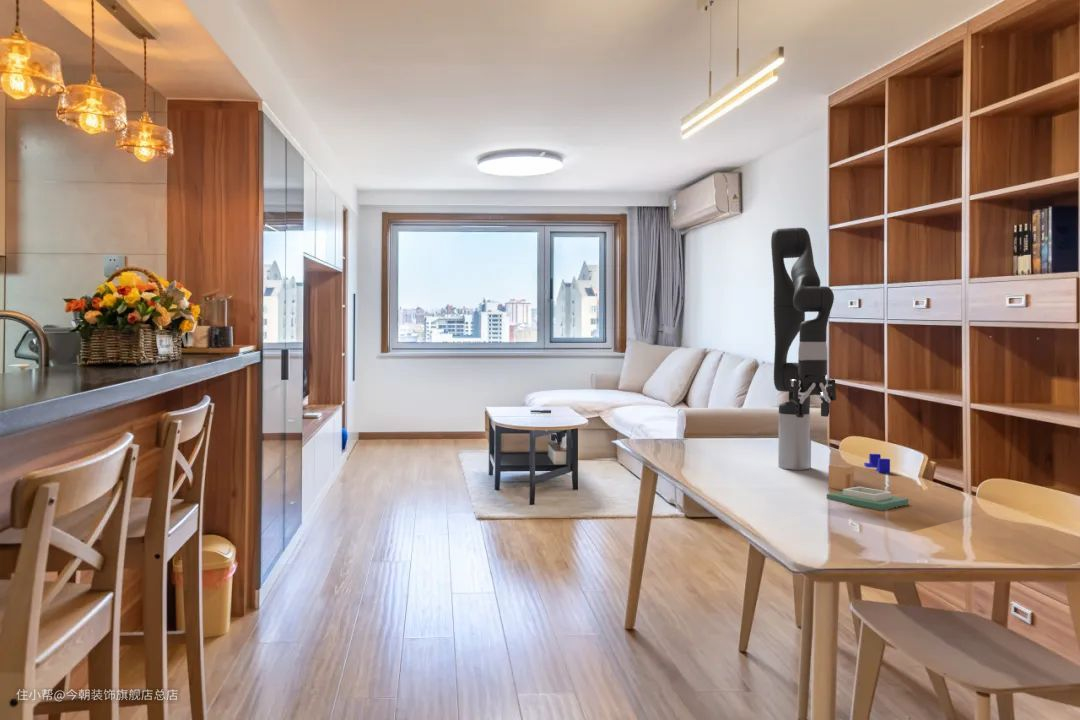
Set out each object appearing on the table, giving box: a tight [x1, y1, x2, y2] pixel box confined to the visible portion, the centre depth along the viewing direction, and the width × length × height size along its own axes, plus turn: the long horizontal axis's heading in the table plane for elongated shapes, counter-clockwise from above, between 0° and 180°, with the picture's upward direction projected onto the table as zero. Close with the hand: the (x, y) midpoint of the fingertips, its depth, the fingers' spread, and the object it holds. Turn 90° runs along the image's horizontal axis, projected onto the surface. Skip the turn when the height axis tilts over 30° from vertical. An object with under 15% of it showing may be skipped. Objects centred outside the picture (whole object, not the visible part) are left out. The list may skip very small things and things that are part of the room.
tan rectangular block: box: [828, 463, 855, 491], centre depth 198 cm, size 4×6×7 cm
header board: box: [826, 486, 909, 511], centre depth 183 cm, size 12×15×3 cm
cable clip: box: [863, 453, 891, 474], centre depth 225 cm, size 12×4×6 cm, turn 169°
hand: (812, 416), depth 199 cm, fingers open, 8 cm apart
